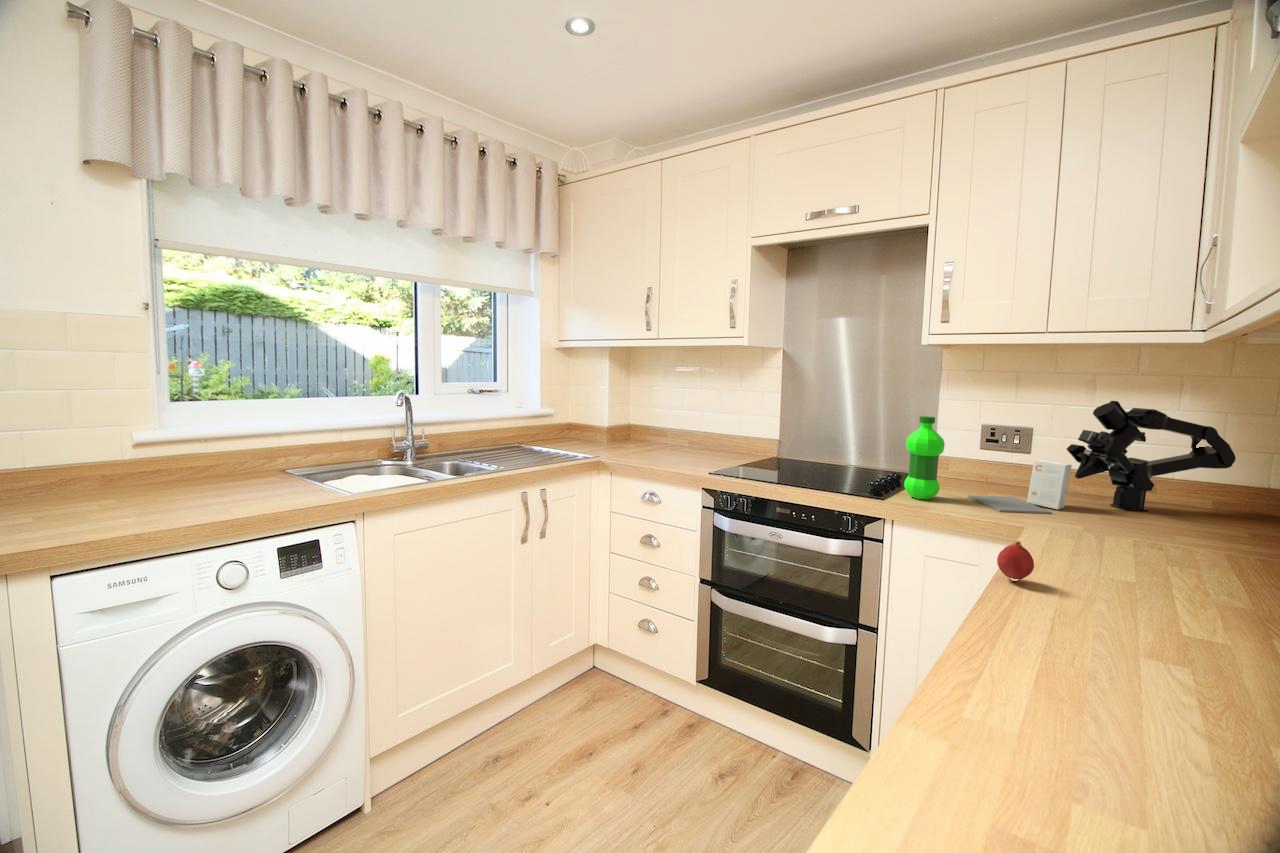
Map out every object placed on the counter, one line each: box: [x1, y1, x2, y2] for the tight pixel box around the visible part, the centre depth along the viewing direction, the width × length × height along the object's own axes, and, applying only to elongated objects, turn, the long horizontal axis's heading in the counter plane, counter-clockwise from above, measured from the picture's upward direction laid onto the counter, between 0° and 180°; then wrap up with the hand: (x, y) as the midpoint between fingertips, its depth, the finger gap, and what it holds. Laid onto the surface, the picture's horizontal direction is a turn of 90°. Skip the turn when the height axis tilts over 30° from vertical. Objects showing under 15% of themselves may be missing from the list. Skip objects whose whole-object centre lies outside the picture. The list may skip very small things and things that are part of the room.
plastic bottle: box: [903, 415, 945, 500], centre depth 178 cm, size 10×10×25 cm
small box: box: [1026, 459, 1072, 510], centre depth 171 cm, size 8×6×13 cm
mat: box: [967, 494, 1052, 515], centre depth 173 cm, size 14×18×1 cm
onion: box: [996, 540, 1035, 580], centre depth 110 cm, size 6×6×8 cm
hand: (1076, 477), depth 171 cm, fingers closed
